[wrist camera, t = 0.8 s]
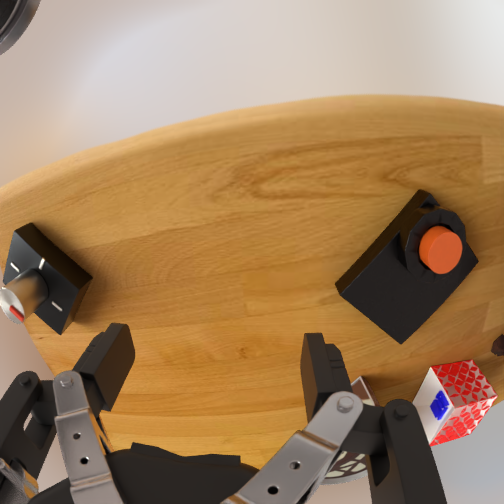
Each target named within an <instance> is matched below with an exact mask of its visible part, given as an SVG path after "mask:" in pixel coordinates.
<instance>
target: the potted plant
mask: <svg viewBox="0 0 504 504" xmlns="http://www.w3.org/2000/svg"><path fill="white" fill-rule="evenodd" d="M491 352H492V353H494V354H495V355H496V354H497V356H502V355H504V335H501V336H500V337H499V338H498V339H497V340H495V341H494V343H493V347H492V350H491Z"/></svg>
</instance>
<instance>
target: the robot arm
mask: <svg viewBox="0 0 504 504" xmlns="http://www.w3.org/2000/svg"><path fill="white" fill-rule="evenodd" d="M21 2H22V0H0V36H1V34H2V33H3V32H4V31H5V30H6V28H7V27H8V26H9V24H10V23H11V21H12V20H13V18H14V16H15V14H16V13H17V11H18V9H19V7H20V4H21ZM134 360H135V349H134V345H133V341H132V337H131V333H130V329H129V326H128V325H127V324H120V323H111V324H110V326H109V327H108V328H107V330H106V331H105V332H101V333H100V334H98V335H97V336H96V337H94V338H93V340H92V341H91V343H90V344H89V346H88V347H87V348H86V350H85V352H84V353H83V354H82V356H81V357H80V359H79V360H78V362H77V363H76V365H75V366H74V368H73V369H72V371H64V372H61V373H60V374H58V375H57V376H56V377H55V378H54V380H45V381H44V380H42V381H41V380H40V379H39V377H38V376H37V374H36V373H35V372H32V371H26V372H22V373H21V374H19V375H18V376H17V377H16V378H15V379H14V381H13V382H12V384H11V385H10V387H9V388H8V390H7V391H6V393H5V394H4V396H3V398H2V399H1V400H0V504H306V503H307V502H308V500H309V499H310V498H311V497H312V495H313V494H314V493H315V491H316V490H317V488H318V487H319V485H320V484H321V482H322V481H323V480H324V478H325V477H326V475H327V474H328V473H329V471H330V470H331V469H332V467H333V466H334V464H335V463H336V461H337V460H338V458H339V457H340V456H341V454H342V453H343V451H345V452H351V453H358V454H365V460H366V466H367V472H368V478H369V484H370V491H371V498H372V504H447V501H446V498H445V494H444V490H443V487H442V483H441V480H440V476H439V473H438V470H437V466H436V463H435V460H434V457H433V454H432V451H431V448H430V445H429V442H428V439H427V436H426V433H425V430H424V427H423V425H422V422H421V419H420V416H419V414H418V411H417V409H416V407H415V406H414V405H413V404H412V403H411V402H409V401H407V400H403V399H395V400H392V401H390V402H389V403H387V405H386V406H385V407H380V406H373V405H368V404H365V403H363V402H362V400H361V399H360V397H359V396H357V395H356V394H354V393H353V390H352V387H351V383H350V380H349V377H348V374H347V371H346V368H345V364H344V361H343V358H342V355H341V352H340V350H339V349H338V348H337V347H336V346H335V345H334V344H325V342H324V338H323V335H322V333H305V334H304V340H303V347H302V354H301V363H300V369H301V377H302V384H303V391H304V399H305V406H306V413H307V421H308V425H307V426H306V427H305V428H304V429H303V430H302V431H300V430H298V431H296V432H295V433H294V434H293V435H292V436H291V438H290V439H289V440H288V441H287V442H286V443H285V444H284V445H283V446H282V448H281V449H280V450H279V451H278V452H277V453H276V454H275V455H274V456H273V457H272V458H271V459H270V460H269V461H268V462H267V463H266V464H265V465H264V466H263V468H262V469H261V470H259V469H257V468H255V467H253V466H250V465H247V464H244V463H241V460H240V456H236V455H219V454H208V455H198V456H187V457H183V456H179V455H177V454H174V453H171V452H169V451H166V450H164V449H161V448H159V447H155V446H150V445H144V444H139V443H135V442H133V443H132V446H131V449H123V450H118V451H114V449H113V447H112V445H111V443H110V440H109V438H108V435H107V433H106V430H105V427H104V425H103V422H102V419H101V417H100V415H99V414H100V412H101V410H105V411H110V412H111V409H112V407H113V405H114V403H115V401H116V398H117V396H118V394H119V392H120V390H121V388H122V386H123V384H124V381H125V379H126V377H127V375H128V373H129V371H130V369H131V367H132V365H133V363H134ZM29 413H31V414H32V418H31V420H30V422H29V424H28V426H27V428H26V429H25V431H24V428H23V427H24V423H25V421H26V419H27V417H28V415H29ZM56 433H57V435H58V439H59V443H60V448H61V452H62V456H63V459H64V463H65V467H66V470H67V473H68V478H66V479H64V480H62V481H61V482H59V483H57V484H55V485H54V486H52V487H50V488H48V489H46V490H44V491H42V492H40V493H39V492H38V484H37V478H38V476H39V473H40V471H41V468H42V466H43V463H44V461H45V458H46V456H47V454H48V451H49V449H50V447H51V444H52V442H53V440H54V438H55V435H56Z"/></svg>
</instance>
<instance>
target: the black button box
mask: <svg viewBox="0 0 504 504" xmlns="http://www.w3.org/2000/svg"><path fill="white" fill-rule="evenodd" d="M435 226H443V227H445V228H447V229H448V230H450V231H452V232H453V233H455V234H457V235H458V236H459V238H460V240H461V243H462V254H461V257H460V260H459V262H458V263H457V265H456V266H455V267H454V268H453V269H452V270H451V271H449V272H447V273H444V274H438V273H435V272H433V271H432V270H431V269H430V268H429V267H428V266H427V265H426V264H424V263H423V262H422V260H421V258H420V256H419V244H420V241H421V239H422V237H423V235H424V234H425V233H426V231H428V230H429V229H430V228H432V227H435ZM478 262H479V261H478V259H477V258H476V256H475V255H474V253H473V251H472V250H471V248H470V247H469V245H468V244H467V242H466V234H465V226H464V224H463V223H462V221H461V220H460V218H459V217H458V215H457V214H456V213H455V212H453V211H451V210H449V209H447V208H444V207H441V206H440V205H439V204H438V202H437V201H436V200H435V199H434V197H433V196H432V195H431V194H430V193H427V192H425V191H422V190H420V189H419V190H418V191H417V192H416V194H415V195H414V196H413V197H412V198H411V200H410V201H409V202H408V203H407V204H406V206H405V207H404V208H403V209H402V210H401V212H400V213H399V214H398V215H397V216H396V217H395V219H394V220H393V221H392V222H391V223H390V224H389V226H388V227H387V228H386V229H385V230H384V231H383V232H382V233H381V235H380V236H379V237H378V238H377V239H376V240H375V241H374V242H373V244H372V245H371V246H370V247H369V248H368V249H367V250H366V251H365V252H364V253H363V255H362V256H361V257H360V258H359V259H358V260H357V261H356V262H355V263H354V264H353V265H352V266H351V267H350V268H349V269H348V271H347V272H346V273H345V274H344V275H343V276H342V277H341V278H340V279H339V280H338V281H337V282H336V283H335V285H336V288H337V290H338V292H339V294H340V296H342V297H343V298H344V299H345V300H347V301H348V302H349V303H350V304H352V305H353V306H354V307H355V308H356V309H358V310H359V311H360V312H361V313H363V314H364V315H365V316H366V317H368V318H369V319H370V320H371V321H373V322H374V323H375V324H376V325H377V326H379V327H380V328H381V329H382V330H384V331H385V332H386V333H387V334H388V335H390V336H391V337H392V338H393V339H394V340H396V341H397V342H398V343H399V344H402V343H403V342H405V341H406V340H407V339H408V338H409V337H410V336H411V335H412V334H413V333H414V332H415V331H416V330H417V329H418V328H419V327H420V326H421V325H422V324H423V323H424V322H425V321H426V320H427V319H428V318H429V317H430V316H431V315H432V314H433V313H434V312H435V311H436V310H437V309H438V308H439V307H440V306H441V305H442V304H443V303H444V301H445V300H446V299H447V298H448V297H449V296H450V295H451V294H452V293H453V292H454V290H455V289H456V288H457V287H458V286H459V285H460V284H461V282H462V281H463V280H464V279H465V278H466V277H467V275H468V274H469V273H470V272H471V271H472V269H473V268H474V267H475V266H476V264H477V263H478Z"/></svg>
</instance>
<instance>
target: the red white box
mask: <svg viewBox="0 0 504 504" xmlns="http://www.w3.org/2000/svg"><path fill="white" fill-rule="evenodd" d="M497 397H498V395H497V394H496V392H495V391H494V389H493V388H492V386H491V385H490V383H489V382H488V380H487V379H486V378H485V376H484V375H483V373H482V372H481V371H480V369H479V368H478V366H477V365H476V364H475V362H474V361H473V360H466V361H461V362H456V363H450V364H444V365H437V366H431V367H430V369H429V371H428V373H427V375H426V377H425V379H424V381H423V383H422V385H421V387H420V389H419V391H418V393H417V395H416V397H415V399H414V400H413V402H412V404H413V405H414V406H415V407H416V409H417V411H418V414H419V416H420V419H421V422H422V425H423V427H424V430H425V433H426V436H427V439H428V442H429V445H430V446H434V445H438V444H441V443H444V442H448V441H451V440H454V439H457V438H460V437H464V436H466V435H469V434H471V432H472V431H473V430H474V429H475V427H476V426H477V425H478V423H479V422H480V421H481V420H482V418H483V417H484V415H485V414H486V412H487V411H488V410H489V408H490V407H491V405H492V404H493V403H494V401H495V400H496V398H497Z"/></svg>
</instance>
